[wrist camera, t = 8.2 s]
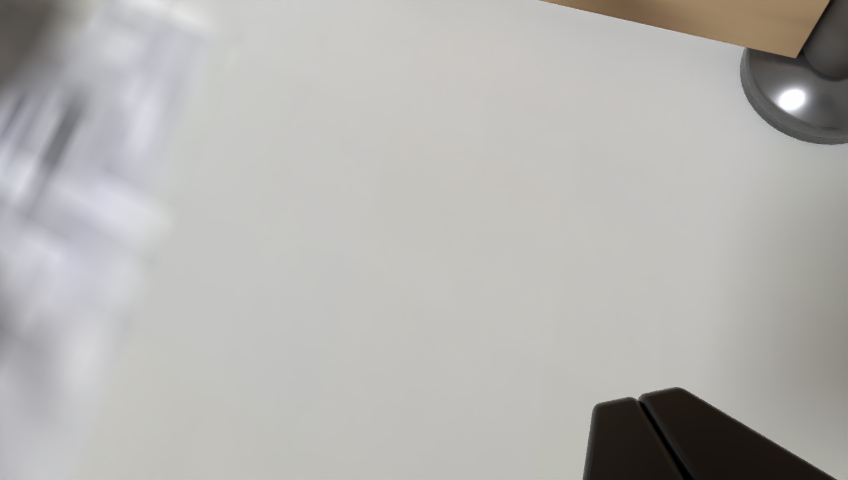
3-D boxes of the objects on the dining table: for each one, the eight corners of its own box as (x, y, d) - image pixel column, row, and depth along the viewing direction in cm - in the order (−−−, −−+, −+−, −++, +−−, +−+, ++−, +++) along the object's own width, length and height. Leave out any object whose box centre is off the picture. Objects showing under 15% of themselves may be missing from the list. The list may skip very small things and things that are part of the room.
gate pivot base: (867, -8, 23) (882, -30, 22) (932, 122, 21) (951, 104, 20) (718, 29, 23) (727, 8, 22) (772, 161, 21) (783, 144, 20)
